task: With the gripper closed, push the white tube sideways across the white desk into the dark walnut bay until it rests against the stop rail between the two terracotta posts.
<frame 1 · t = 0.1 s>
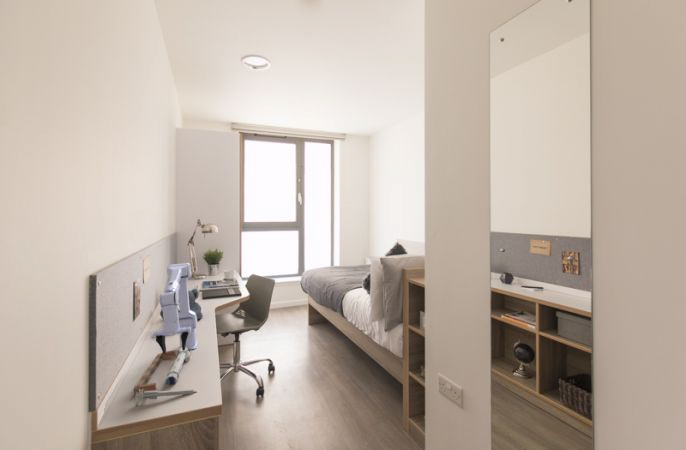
hand: (174, 350, 144), 10 cm above the table, tool pointing down, fingers open, 7 cm apart
koala plush: (190, 319, 215), on the table
white tube: (179, 371, 147), on the table
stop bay: (157, 373, 145), on the table
caliper: (167, 399, 125), on the table
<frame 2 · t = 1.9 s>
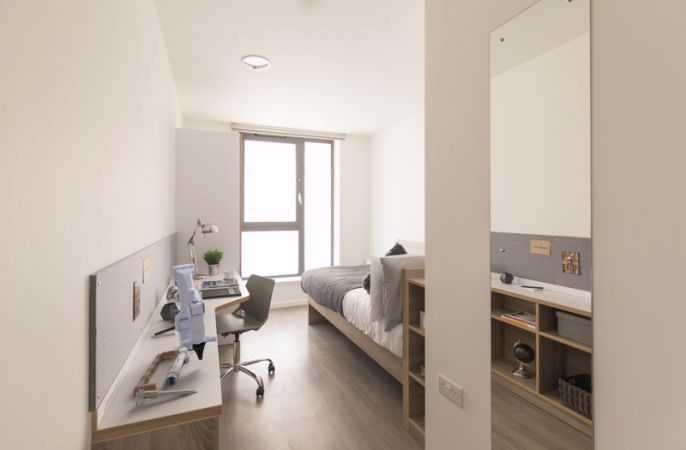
hand: (200, 359, 149), 3 cm above the table, tool pointing down, fingers closed
nothing on the table moved.
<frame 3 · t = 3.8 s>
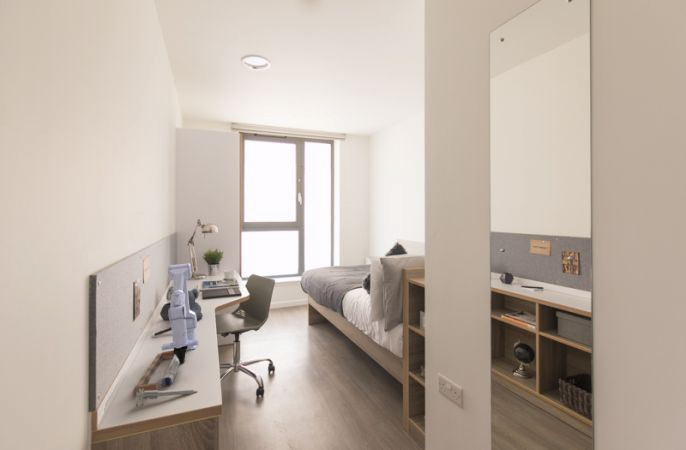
hand: (182, 363, 147), 3 cm above the table, tool pointing down, fingers closed
white tube: (175, 372, 147), on the table
everything else where it was.
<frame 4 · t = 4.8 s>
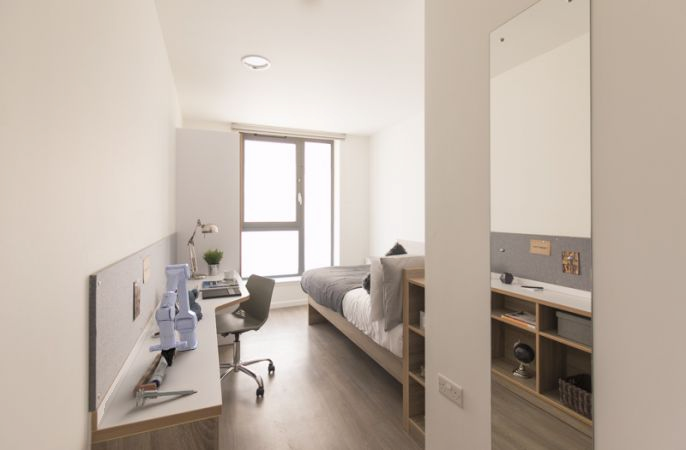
hand: (170, 365, 146), 3 cm above the table, tool pointing down, fingers closed
white tube: (162, 374, 145), on the table, touching gripper
everything else where it was.
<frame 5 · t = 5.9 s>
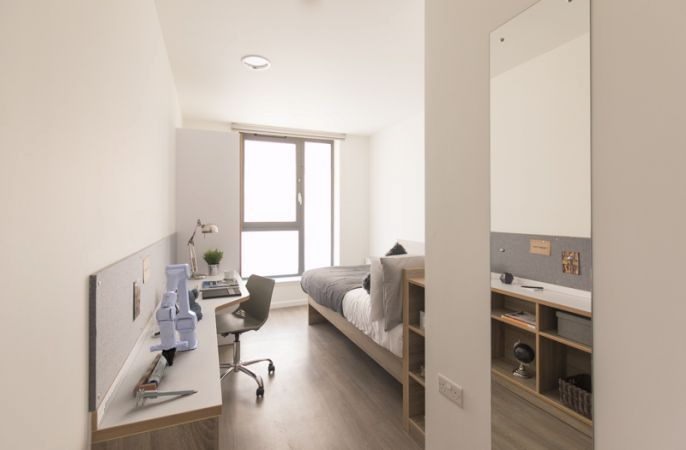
hand: (170, 364, 146), 3 cm above the table, tool pointing down, fingers closed
white tube: (161, 374, 145), on the table
everything else where it was.
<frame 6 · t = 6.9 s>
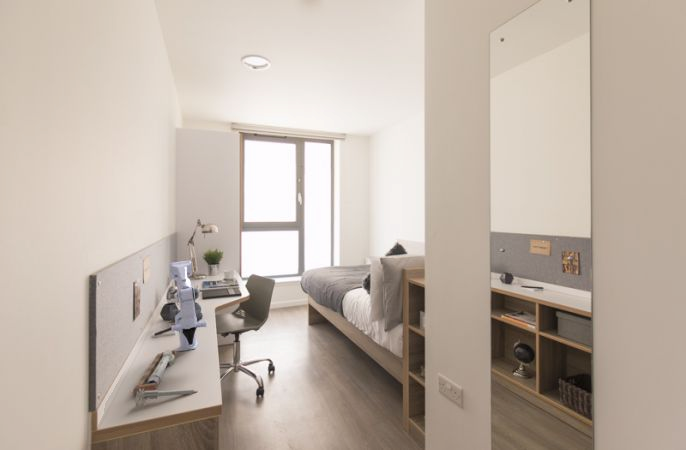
hand: (191, 343, 152), 9 cm above the table, tool pointing down, fingers closed
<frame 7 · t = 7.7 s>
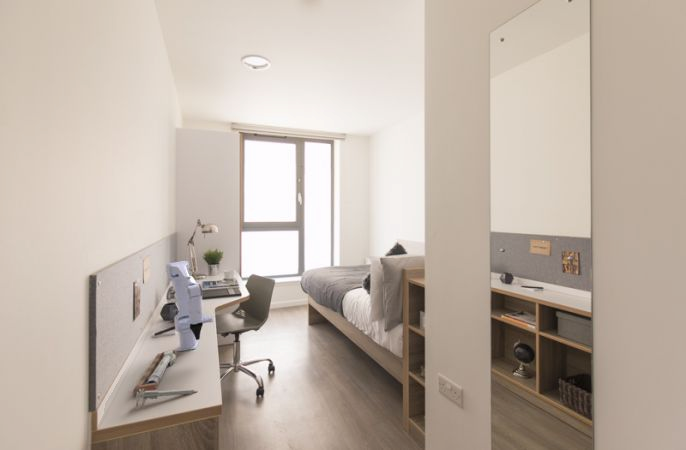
hand: (197, 339, 157), 9 cm above the table, tool pointing down, fingers closed
nothing on the table moved.
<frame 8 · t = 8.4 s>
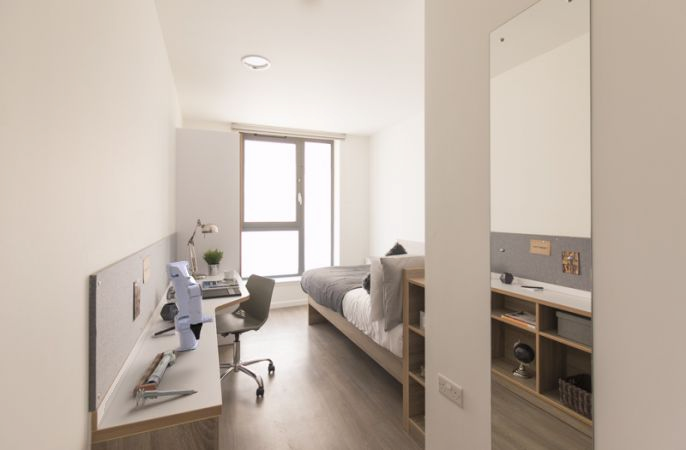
hand: (197, 339, 157), 9 cm above the table, tool pointing down, fingers closed
nothing on the table moved.
at the end: white tube inside the target area (1.8 cm from its centre), on the table; white tube tilted 2°; the gripper is holding nothing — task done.
